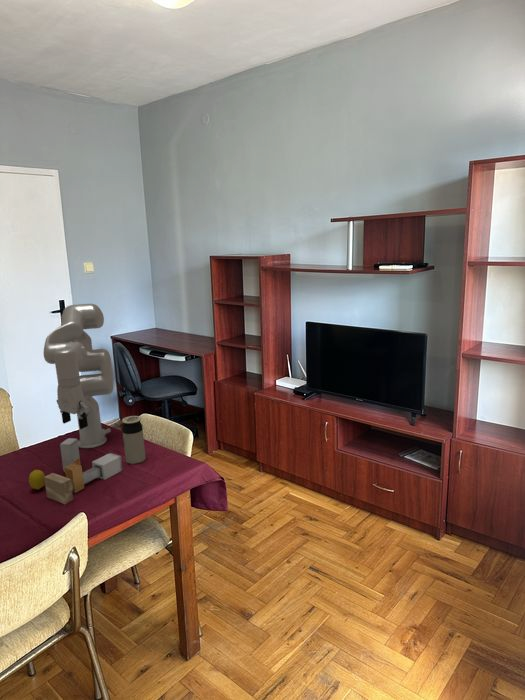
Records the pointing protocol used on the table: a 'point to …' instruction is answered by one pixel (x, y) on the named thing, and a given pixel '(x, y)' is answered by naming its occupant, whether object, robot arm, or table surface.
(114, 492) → the table surface
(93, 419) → the robot arm
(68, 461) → the skincare box
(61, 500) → the socket block
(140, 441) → the travel mug
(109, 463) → the sleeve
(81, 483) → the multicoloured angled piece
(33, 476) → the lemon
